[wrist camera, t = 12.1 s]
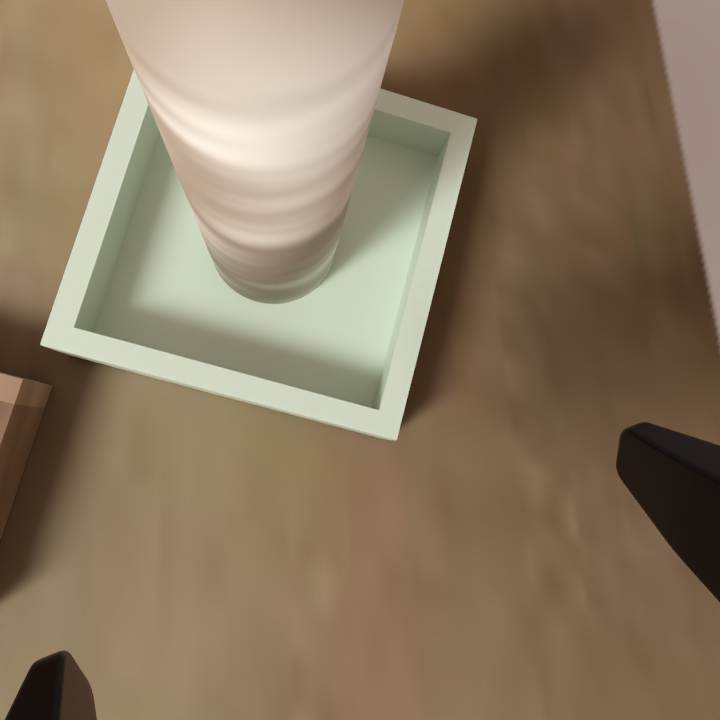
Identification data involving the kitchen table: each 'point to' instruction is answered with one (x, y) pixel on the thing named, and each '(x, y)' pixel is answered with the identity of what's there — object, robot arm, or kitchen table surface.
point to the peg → (263, 122)
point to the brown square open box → (17, 433)
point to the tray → (261, 320)
